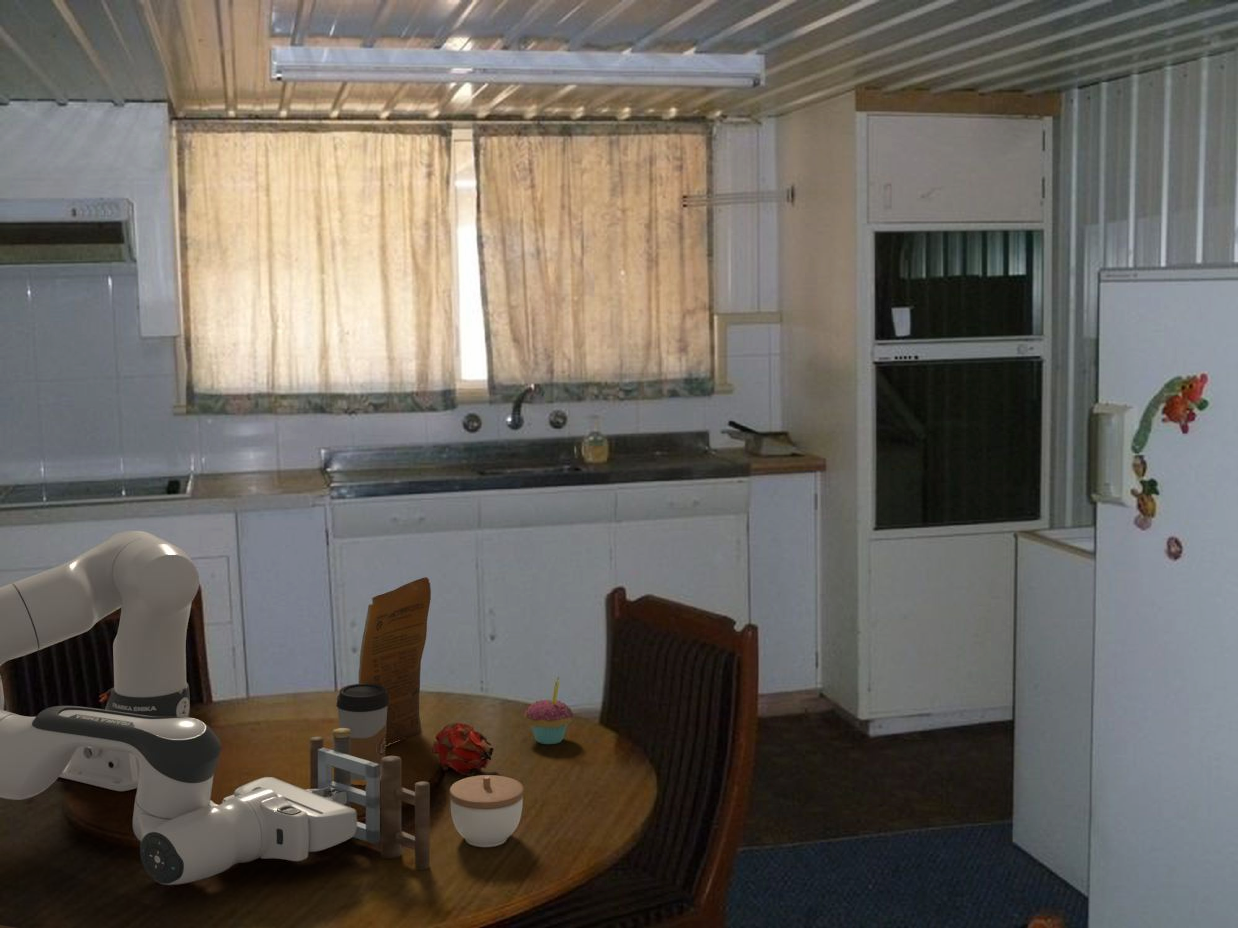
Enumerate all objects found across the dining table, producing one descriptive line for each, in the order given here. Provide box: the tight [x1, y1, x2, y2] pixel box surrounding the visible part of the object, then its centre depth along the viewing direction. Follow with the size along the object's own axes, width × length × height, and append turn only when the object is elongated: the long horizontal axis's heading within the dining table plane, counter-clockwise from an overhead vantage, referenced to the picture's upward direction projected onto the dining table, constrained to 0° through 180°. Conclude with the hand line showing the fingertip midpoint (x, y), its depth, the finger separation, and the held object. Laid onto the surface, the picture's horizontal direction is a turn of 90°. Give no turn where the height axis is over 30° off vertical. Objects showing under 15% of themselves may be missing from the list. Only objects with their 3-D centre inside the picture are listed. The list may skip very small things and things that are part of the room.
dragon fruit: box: [430, 721, 494, 777], centre depth 225 cm, size 8×8×12 cm
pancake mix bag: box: [358, 576, 432, 745], centre depth 238 cm, size 7×19×28 cm, turn 148°
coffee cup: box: [336, 683, 389, 781], centre depth 220 cm, size 8×8×15 cm
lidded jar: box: [449, 774, 525, 848], centre depth 198 cm, size 11×11×9 cm
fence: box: [309, 727, 431, 871], centre depth 196 cm, size 27×5×15 cm, turn 52°
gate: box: [318, 747, 381, 845], centre depth 197 cm, size 11×1×12 cm, turn 56°
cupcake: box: [523, 676, 574, 745], centre depth 240 cm, size 9×8×12 cm
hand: (338, 794), depth 197 cm, fingers closed
